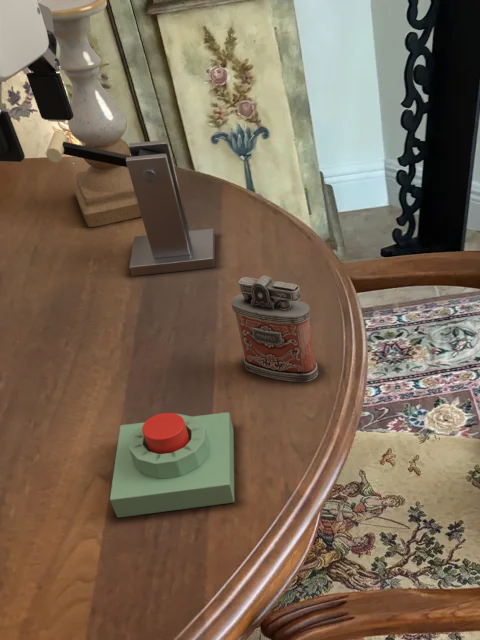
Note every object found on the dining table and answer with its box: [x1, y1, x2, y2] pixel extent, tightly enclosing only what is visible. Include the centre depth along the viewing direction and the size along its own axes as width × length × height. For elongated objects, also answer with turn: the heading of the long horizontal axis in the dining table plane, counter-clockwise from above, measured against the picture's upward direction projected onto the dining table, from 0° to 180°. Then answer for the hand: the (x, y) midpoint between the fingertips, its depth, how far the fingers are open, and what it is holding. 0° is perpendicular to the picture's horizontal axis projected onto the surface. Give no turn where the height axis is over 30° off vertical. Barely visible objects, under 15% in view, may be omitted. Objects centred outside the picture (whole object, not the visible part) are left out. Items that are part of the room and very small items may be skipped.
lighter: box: [230, 274, 319, 383], centre depth 77 cm, size 8×3×10 cm, turn 70°
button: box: [142, 412, 189, 454], centre depth 68 cm, size 4×4×2 cm
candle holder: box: [37, 0, 142, 228], centre depth 100 cm, size 11×11×24 cm
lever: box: [45, 130, 160, 167], centre depth 89 cm, size 12×5×2 cm, turn 99°
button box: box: [109, 411, 235, 519], centre depth 69 cm, size 10×10×4 cm
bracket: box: [126, 139, 216, 277], centre depth 93 cm, size 10×8×13 cm
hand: (34, 138), depth 73 cm, fingers open, 9 cm apart
